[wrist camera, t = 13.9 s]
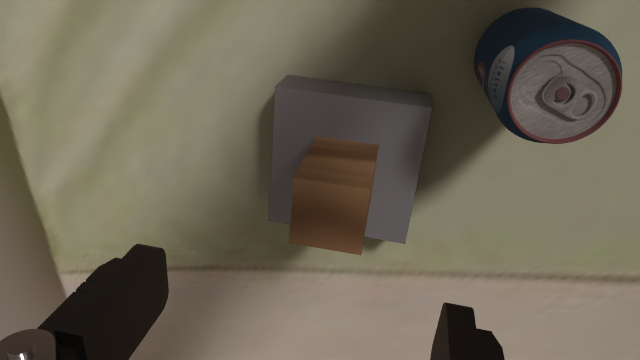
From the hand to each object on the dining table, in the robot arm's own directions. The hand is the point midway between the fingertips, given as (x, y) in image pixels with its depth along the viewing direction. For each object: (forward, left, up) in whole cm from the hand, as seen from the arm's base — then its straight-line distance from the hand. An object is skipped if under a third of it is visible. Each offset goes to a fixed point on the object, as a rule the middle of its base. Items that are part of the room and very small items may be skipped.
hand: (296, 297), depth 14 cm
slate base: (+7, -1, -29) cm, 30 cm away
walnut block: (+7, -1, -25) cm, 26 cm away
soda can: (-3, +11, -29) cm, 31 cm away
